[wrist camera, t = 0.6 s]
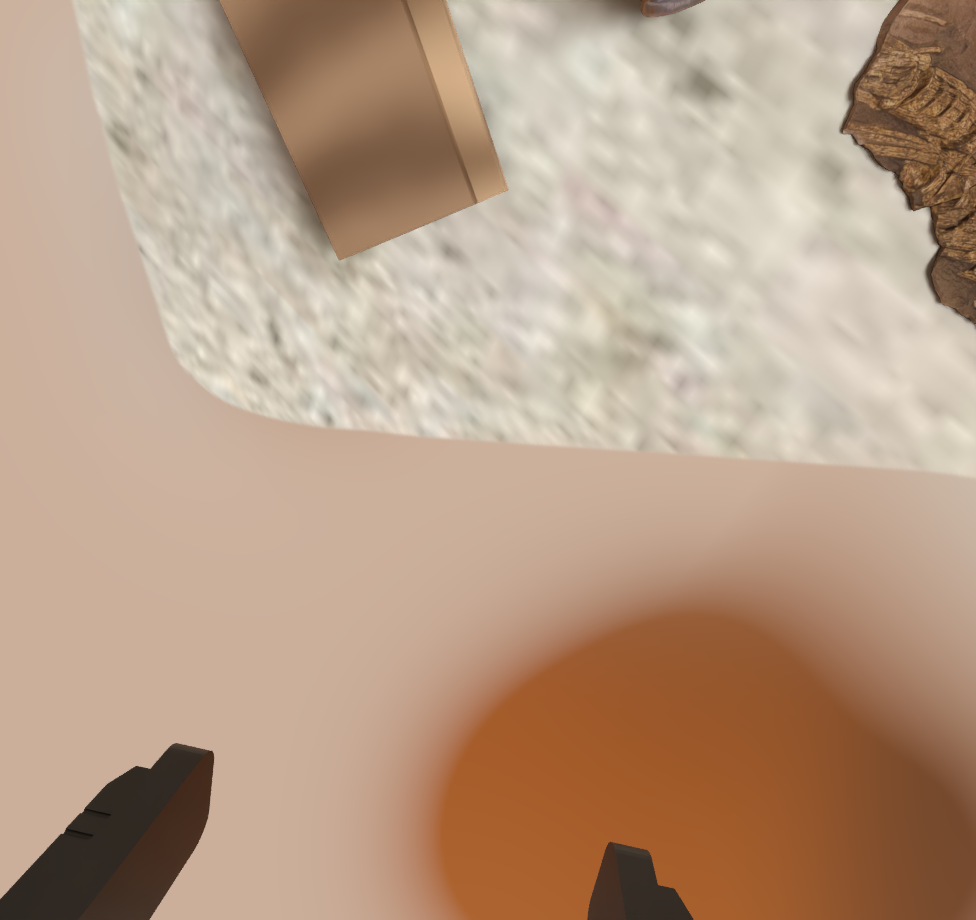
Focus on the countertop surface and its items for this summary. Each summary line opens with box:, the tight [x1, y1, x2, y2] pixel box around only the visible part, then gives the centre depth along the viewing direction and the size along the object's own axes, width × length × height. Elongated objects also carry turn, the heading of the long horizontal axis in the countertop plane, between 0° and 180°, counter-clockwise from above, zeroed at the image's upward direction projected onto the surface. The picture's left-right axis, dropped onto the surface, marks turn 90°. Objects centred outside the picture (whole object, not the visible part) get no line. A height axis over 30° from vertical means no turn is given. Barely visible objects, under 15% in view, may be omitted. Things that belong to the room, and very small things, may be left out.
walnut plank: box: [219, 0, 509, 260], centre depth 28 cm, size 20×10×4 cm, turn 21°
